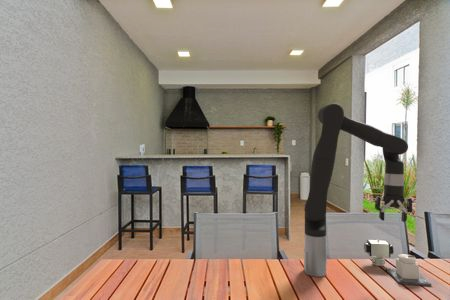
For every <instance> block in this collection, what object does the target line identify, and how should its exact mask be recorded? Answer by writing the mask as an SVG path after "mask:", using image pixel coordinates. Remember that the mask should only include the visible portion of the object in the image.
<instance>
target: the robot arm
mask: <svg viewBox="0 0 450 300" xmlns="http://www.w3.org/2000/svg"><path fill="white" fill-rule="evenodd" d="M317 119H318V121H319V123H320V124H322V128H321V133H320V136H319V140H318V142H317V143H316V146H315V149H314V152H313V156H312V161H311V168H310V186H309V192H308V195H307V199H306V201H305V203H304V248H303V269H304V273H305V276H306V275H308V276H311V277H316V278H323V277H325V276H327V203H328V202H327V200H328V191H329V187H330V184H331V181H332V177H333V172H334V169H335V162H336V154H337V151H338V150H337V148H338V142H339V141H338V140H339V135H340V132H341V131H343V132H346V134H347V133H348V134H350V135H352V136H354V137H356V138H358V139H360V140H362V141H364V142H366V143H367V144H370V145H372V146H374V147H379V148H382V154H383V160H384V164H385V166H384V167H385V168H384V177H383V196H379V195H376V196H375V202H374V203H375V204H374V209H375V210H377V211H378V212H379V213H378V214H379V215H378V216H379V219H380V220H381V221H383V222H384V221H385V211H386V210H387V209H388V208H399V210H400V211H401V217H400V218H401V222H403V223H406V221H407V220H408V213H413V199H412V198H410V197H405V196H404V195H405V173H404V172H405V169H404V168H405V164H404V162H403V160H400V159H401V158H400V155H403V154H405V153H406V152H408V149H409V144H408V142H407V141H406V140H405V139H403V138H402V137H399V136H397V135H394V134H391V133H387V132H384V131H383V130H380V129H379V128H376V127H374V126H372V125H371V124H370V125H369V124H367V123H364V122H361V121H357V120H355V119H352V118H350V117H348V116H345V111H344V109H343V107H342V106H341V105H340V104H338V103H329V104H325V105H324V106H322V107H321V108H320V109H318V113H317ZM382 201H383V203H382V205H381V202H382ZM404 203H406V206H405V205H403V204H404Z"/></svg>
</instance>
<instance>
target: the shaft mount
mask: <svg viewBox="0 0 450 300" xmlns="http://www.w3.org/2000/svg"><path fill="white" fill-rule="evenodd" d="M385 271H386V272H387V273H388V274H389V276H390V277H392V279H393V280H395V282H397V284H399V285H408V286H409V285H411V286H423V287H424V286H426V287H432V283H431V282H430V281H429V280H428V279H426V278H425V277H424V276H423V274H420V273H419V279H407V278H402V277H401V276H400V275H399V274H398V273H397V272H396V268H387V267H386V268H385Z"/></svg>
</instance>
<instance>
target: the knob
mask: <svg viewBox="0 0 450 300" xmlns="http://www.w3.org/2000/svg"><path fill="white" fill-rule="evenodd" d="M397 256H398V258H397V257H396V258H395V269H396V272H397V273H398V274H399V275H400V276H401V277H402V278H407V279H419V274H420V265H419V264H418V263H417V261H416V260H417V258H416V257H415V255H411V254H406V253H402V254H398V255H397Z"/></svg>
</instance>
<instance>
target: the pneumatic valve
mask: <svg viewBox="0 0 450 300" xmlns="http://www.w3.org/2000/svg"><path fill="white" fill-rule="evenodd" d="M363 250H364V253H367V255H369V257H372V258H371V263H372V264H373V265H374V266H377V267H384V266H385V264H386V260H385V259H384V258H391V256H392V255H393V254H394V246H393V244H391V243H389V241H387V240H380V239H376V240H375V239H366V242H364V243H363Z"/></svg>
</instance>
